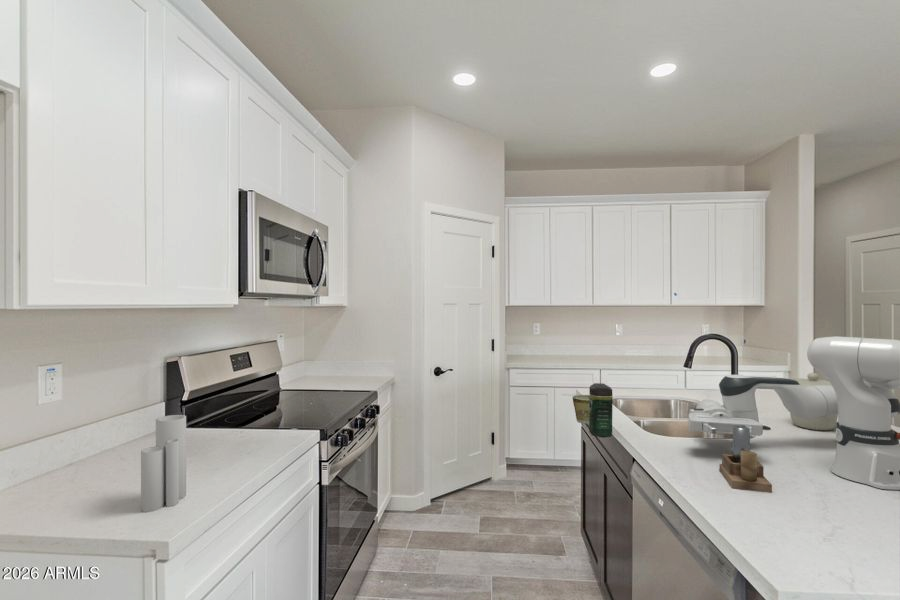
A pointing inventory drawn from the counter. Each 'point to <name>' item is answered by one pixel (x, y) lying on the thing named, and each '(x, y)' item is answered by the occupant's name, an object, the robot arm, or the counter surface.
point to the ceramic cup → (582, 408)
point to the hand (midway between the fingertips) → (730, 432)
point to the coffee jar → (600, 410)
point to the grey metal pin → (740, 442)
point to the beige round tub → (817, 423)
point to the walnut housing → (745, 472)
